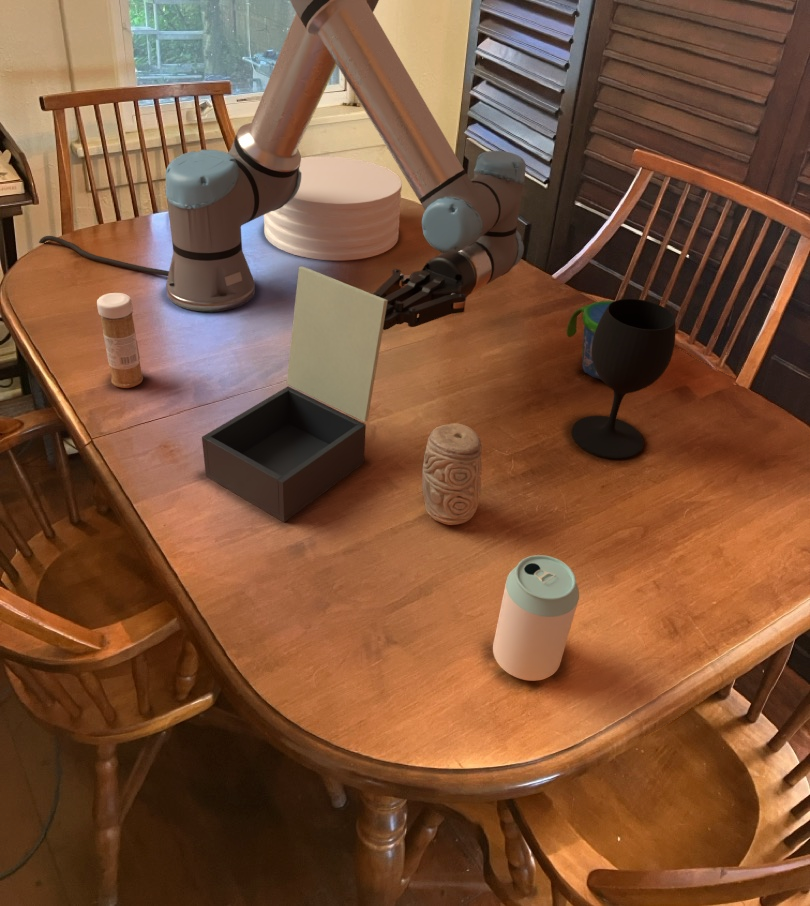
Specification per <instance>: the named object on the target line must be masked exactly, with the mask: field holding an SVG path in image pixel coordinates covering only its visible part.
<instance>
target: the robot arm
mask: <svg viewBox="0 0 810 906" xmlns="http://www.w3.org/2000/svg"><path fill="white" fill-rule="evenodd" d="M289 1H290V3H291V6H292V7H293V9H294V11H295V15H294V17H293V20H292V21H291V22H292V23H291V25H290V27H289V30H288V32H287V34H286V37H285V39H284V42H283V44H282V47H281V49H280V52H279V54H278V57H277V59H276V62H275V63H274V66H273V69H272V71H271V74H270V75H269V79H268V82H267V84H266V86H265V88H264V90H263V94H262V96H261V98H260V101H259V103H258V105H257V109H256V110H255V112H254V116H253V118H252V120H251V122H249V123H244V124H243V125H241V126H240V127H239V128H238V130H237V132H236V135H235V137H234V139H233V142H232V144H231V147H230V148H229V151H228V152H226V151H223V150H218V149H200V150H199V151H195V150H192V151H188V152H185V153H182V154H180V155H178V156H177V157H175V158H173V159H172V160H171V161H170V162H169V163H168V165H167V167H166V169H165V175H164V176H165V187H164V188H165V189H164V193H165V197H166V203H167V210H168V221H169V228H170V235H171V236H170V237H171V242H172V257H171V261H170V265H169V270H165V269H159V268H152V267H147V266H143V265H137V264H134V263H129V262H125V261H121V260H117V259H112V258H109V257H103V256H100V255H96V254H92V253H91V252H88V251H86V250H84V249H82V248H81V247H79V246H78V245H77V244H75V243H73V242H70V241H67V240H65V239H63V238H60V237H57V236H56V235H55V236H54V235H45V236H43V237H41V238H40V240H39V241H38V244H46V243H47V242H54V243H57V244H60V245H62V246H64V247H67V248H69V249H71V250H74V252H76V253H77V254H79V255H80V256H82V257H84V258H86V259H89V260H92V261H96V262H99V263H103V264H108V265H112V266H117V267H120V268H124V269H129V270H133V271H137V272H143V273H146V274H153V275H159V276H164V277H167V278H166V283H165V284H166V285H165V286H166V295H167V298H168V299H169V300H170V301H171V303H173V304H174V305H176V306H178V307H180V308H183V309H187V310H191V311H196V312H210V313H211V312H221V311H223V312H224V311H228V310H233V309H236V308H239V307H241V306H244V305H245V304H247V303H248V302H250V301H251V300H252V299H253V298H254V296H255V293H256V289H255V279H254V276H253V274H252V272H251V269H250V267H249V265H248V262H247V258H246V256H245V254H244V252H243V242H242V226H243V225H246V224H248V223H250V222H252V221H253V220H256V219H258V218H260V217H262V216H264V214H267V213H269V212H271V211H275V210H277V209H279V208H281V207H283V206H284V205H285V204H287V203H288V202H289V201H290V200H291V199H293V197H294V196H295V195H296V193H297V191H298V189H299V187H300V183H301V172H300V171H299V167H300V162H301V158H302V155H301V153H300V150H299V146H300V144H301V142H302V140H303V138H304V136H305V134H306V131H307V130H308V127H309V125H310V123H311V121H312V120H313V119H312V118H313V116H314V114H315V112H316V110H317V108H318V106H319V104H320V101H321V99H322V97H323V95H324V93H325V91H326V90H327V86H328V84H329V82H330V80H331V78H332V76H333V74H334V71H335V69H336V68H338V69H339V71H340V73H341V74H342V76H343V77H344V79H345V81H346V82H347V84H348V85H349V87H350V89H351V90H352V92H353V94H354V96H355V97H356V99H357V101H358V102H359V103H360V105H361V107H362V108H363V110H364V112H365V114H366V115H367V117H368V119H369V121H370V122H371V123H372V125H373V127H374V129H375V130H376V131H377V133H378V136H379V137H380V138H381V140H382V142H383V144H384V145H385V146H386V148H387V150H388V151H389V154H390V155H391V156H392V158H393V160H394V161H395V163H396V165H397V167H398V168H399V169H400V172H401V173H402V175H403V176H404V178H405V180H406V181H407V183H408V185H409V186H410V188H411V190H412V191H413V192H414V195H415V196H416V197H417V199H418V201H419V203H420V204H421V206H422V209H424V212H423V215H422V218H421V227H422V234H423V236H424V238H425V240H426V242H427V243H428V245H429V246H431V247H432V248H433V249H434V250H436V251H438V252H440V254H437V255H436V256H433V257H432V258H431V259H429V260H428V261H427V262H426V263H425V265H424V266H423V267H422V269H421V270H416V271H413V272H411V273H410V274H404V273H402V271H401V269H398V268H395V269H392V273H391V276H390V277H388V279H387V280H386V281H384V283H382V285H380V286H379V288H377V289H376V291H374V292H373V293H372V294H373V295H376V296H378V297H381V298H383V299H386V300H388V302H387V308H386V314H385V320H384V326H383V331H387V330H389V329H391V328H393V327H394V326H397V325H402V324H405V323H406V324H407V326H408V327H409V328H416V327H418V326H421V325H424V324H427V323H430V322H432V321H435V320H438V319H441V318H443V317H447V316H449V315H453V314H462V313H465V308H466V300H467V297H469V296H470V295H472V294H473V293H475V292H476V291H477V292H478V290H480V289H482V288H483V287H484V286H486V285H488V284H490V283H491V282H493V281H495V280H496V279H498V278H500V277H502V276H504V275H506V274H508V273H510V271H511V270H512V269H513V268H514V267H516V266H517V265H518V264H519V263H520V262H521V260H522V258H523V256H524V250H525V246H524V242H523V239H522V235H521V234H520V232H519V231H518V229H517V227H518V221H519V215H520V210H521V203H522V198H523V191H524V186H526V182H525V179H526V170H527V169H526V167H527V165H526V162H525V159H524V158H523V157H522V156H520V155H518V154H516V153H514V152H509V151H504V150H487V151H483V152H482V153H479V154H478V156H477V158H476V163H475V168H474V169H473V174H474V175H473V178H470V176H469V175H468V173H467V172H466V169H464V167H463V165H462V163H461V162H460V160H459V159H458V156H456V153H455V151H454V149H453V147H452V146H451V145H450V143H449V141H448V139H447V138H446V136H445V135H444V133H443V131H442V129H441V127H440V126H439V124H438V122H437V120H436V119H435V117H434V116H433V114H432V112H431V110H430V108H429V107H428V105H427V103H426V101H425V100H424V98H423V96H422V95H421V93H420V91H419V89H418V87H417V86H416V84H415V83H414V81H413V79H412V78H411V75H410V74H409V72H408V71H407V69H406V67H405V65H404V64H403V62H402V60H401V58H400V57H399V55H398V53H397V52H396V50H395V48H394V46H393V44H392V43H391V41H390V39H389V38H388V36H387V34H386V33H385V31H384V29H383V28H382V25H381V24H380V22H379V20H378V19H377V17H376V15H375V13H374V11H375V10H376V8H377V5H378V3H379V1H380V0H289Z"/></svg>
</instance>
